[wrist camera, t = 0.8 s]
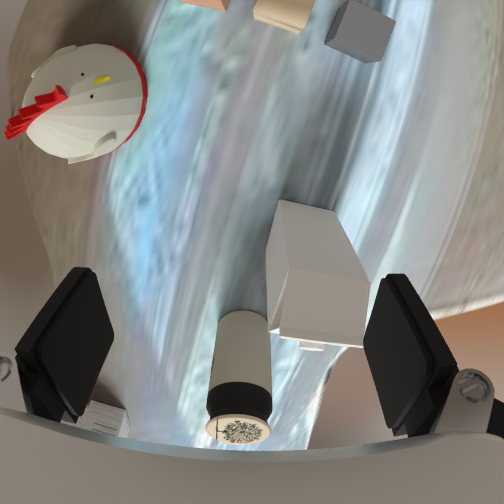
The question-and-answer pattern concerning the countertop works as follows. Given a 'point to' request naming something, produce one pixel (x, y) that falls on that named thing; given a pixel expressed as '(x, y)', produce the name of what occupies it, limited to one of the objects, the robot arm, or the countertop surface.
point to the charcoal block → (360, 32)
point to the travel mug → (240, 380)
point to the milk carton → (314, 279)
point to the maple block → (284, 13)
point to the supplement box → (106, 420)
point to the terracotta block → (210, 4)
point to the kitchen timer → (82, 102)
